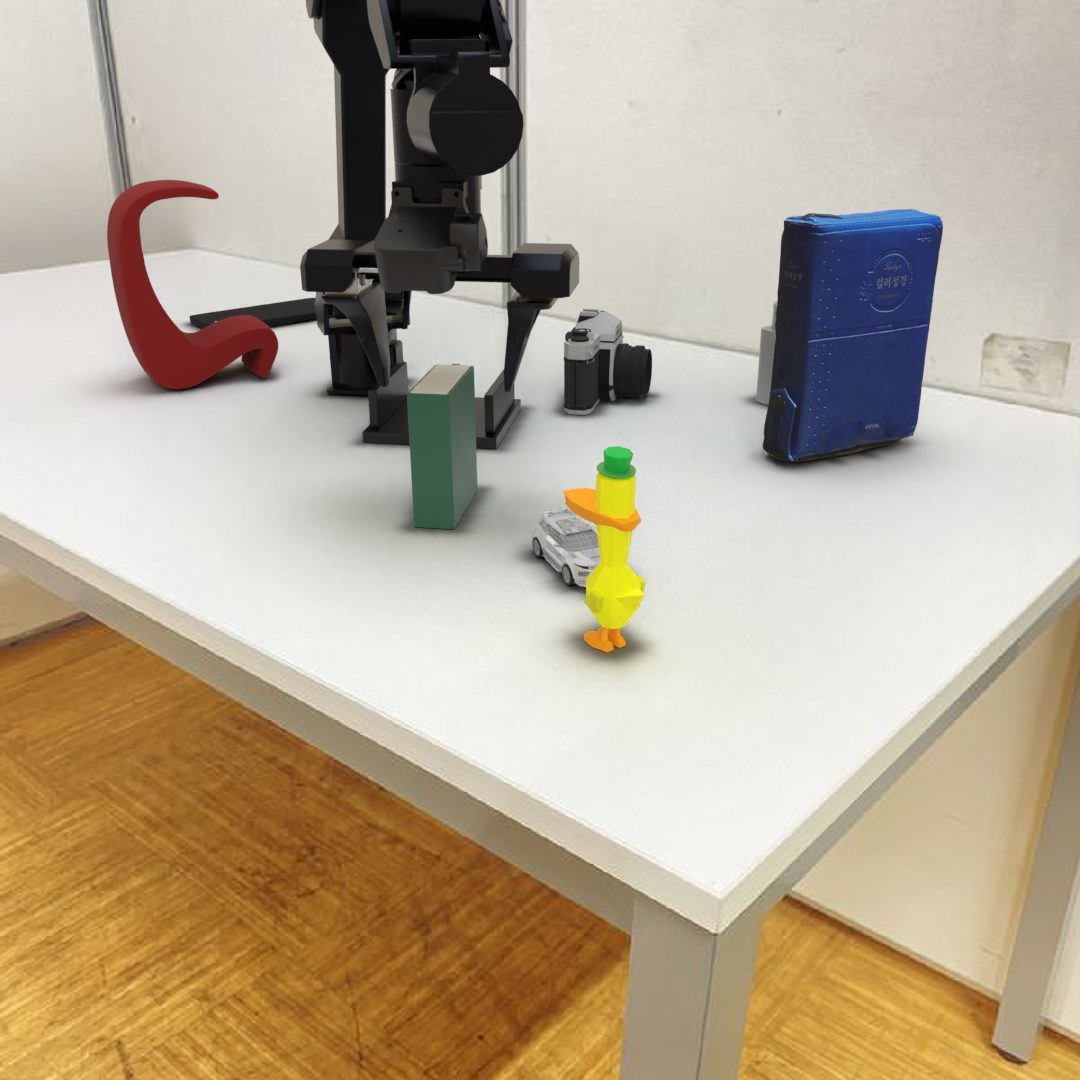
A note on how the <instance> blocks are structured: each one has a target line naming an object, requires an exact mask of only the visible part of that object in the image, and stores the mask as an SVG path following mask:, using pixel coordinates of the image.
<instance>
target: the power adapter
mask: <svg viewBox="0 0 1080 1080" xmlns="http://www.w3.org/2000/svg"><path fill="white" fill-rule="evenodd" d="M772 304H773V305H772V318H771V325H767V326H762V327H761V328H760V340H759V353H758V365H757V366H758V368H757V381H756V394H755V395H756V396H755V402H757V403H760V404H763V405H766V406H768V403H769V397H770V389H771V379H772V368H773V358H774V347H775V340H776V333H775V323H776V310H777V300H775V301H773V303H772Z"/></svg>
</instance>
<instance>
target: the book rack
mask: <svg viewBox="0 0 1080 1080" xmlns="http://www.w3.org/2000/svg"><path fill="white" fill-rule="evenodd" d="M451 365H461V364H460V363H451ZM408 376H409V375H408V362H407V361H403V362H398V363H397V364H396V365H395V366H394V367H393V368H392V369H391V370H390V382H389V385H388V386H387V387H381V386H380V384H379V382H378V381H377V382H376V383H375V384H374V385H373V386H372V387H371V388H370V389H369V390H368V395H367V398H368V399H367V401H368V414H369V415H368V416H369V425H368V426H366V427H365V429H363V431H362V443H366V444H367V443H369V444H387V445H405V446H406V445H409V446H410V442H409V423H408V404H407V393H408V392H409V378H408ZM515 389H516V388H515V384H514V385H513V388H512V390H511V392H505V386H504V368H503V369H502V371H501V372H500V373H499V375H498V376H497V377H496V379H495V380H494V381H493V383H492V384H491V386H490V387H489V388H488V390H487V391H486V392H485V394H484V395H483V397H479V396H478V397H477V396H475V422H476V449H489V450H497V449H498V447H499V446H500V444H501V442H502V440H503V439H504V437H505V436H506V434H507V432H508V430H509V429H510V428H511V426H512V424H513V423H514V421H515V419H516V417H517V416H518V414H519V413H520V411H521V409H522V402H521V401H522V400H521V398H515V394H516V393H515Z"/></svg>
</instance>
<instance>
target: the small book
mask: <svg viewBox="0 0 1080 1080" xmlns="http://www.w3.org/2000/svg"><path fill="white" fill-rule="evenodd" d="M475 393H476V392H475V366H474V365H471V364H470V365H469V364H468V365H465V364H460V365H452V364H445V363H443V364H441V363H440V364H439V363H437V364H434V365H433V366H432V367H431V368H430V370H429V371H428V372H426V374H425V375H424V376H423V377H422V378H421V379H420V380H419V381H418V382H417V383H416V384H415V385H414V386H413V387H412V388H411V389H410V390H408V393H407V404H408V423H409V442H410V445H409V456H410V474H411V475H410V477H411V479H410V480H411V495H412V497H411V498H412V513H413V527H414V528H425V529H441V530H442V529H443V530H455V529H456V527H457V525H458V523H459V522H460V520H461V518H462V517H463V515H464V514H465V512H466V510H467V509H468V507H469V505H470V503H471V502H472V500H473V498H474V497H475V495H476V493H477V492H478V461H477V460H478V458H477V448H476V422H475V397H476V394H475Z"/></svg>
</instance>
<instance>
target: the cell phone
mask: <svg viewBox="0 0 1080 1080" xmlns="http://www.w3.org/2000/svg"><path fill="white" fill-rule="evenodd" d="M315 298H316V297H307V298H298V299H292V300H286V301H278V302H272V303H266V304H265V303H264V304H258V305H251V306H244V307H236V308H231V309H223V310H217V311H210V312H203V313H196V314H191V315H189V323H190V324H192V325H194V326H197V327H199V328H201V329H203V328H205V327H207V326H209V325H211V324H213V323H216V322H218V321H220V320H223V319H226V318H229V317H233V316H240V315H250V316H253V317H256V318H258V319H259V320H261V321H262V322H264V323H265V324H267V325H268V326H269V327H272V326H278V325H284V324H290V323H297V322H303V321H309V320H317V318H316V310H315ZM329 317H334V316H333V315H329Z"/></svg>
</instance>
